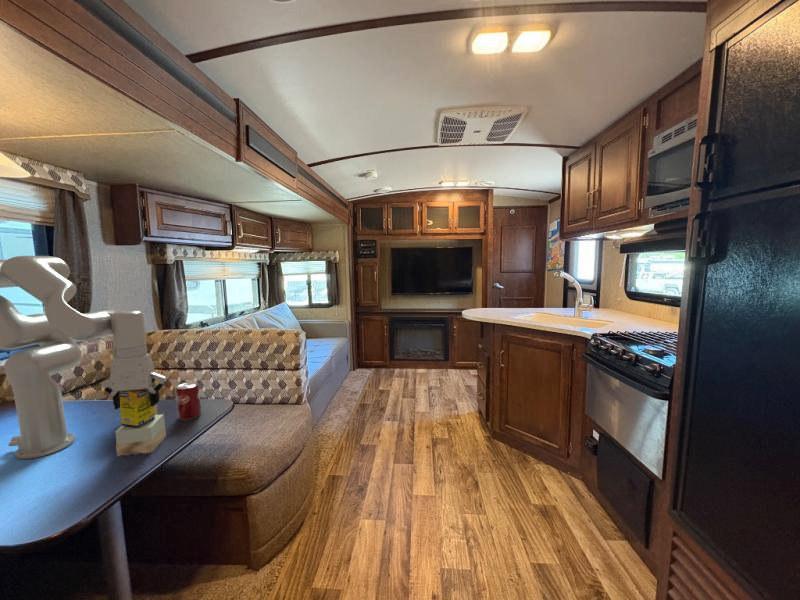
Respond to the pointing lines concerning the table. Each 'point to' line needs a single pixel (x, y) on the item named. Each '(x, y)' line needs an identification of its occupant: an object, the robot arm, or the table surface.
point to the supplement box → (136, 408)
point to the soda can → (188, 400)
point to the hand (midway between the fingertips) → (137, 405)
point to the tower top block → (140, 431)
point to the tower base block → (141, 445)
